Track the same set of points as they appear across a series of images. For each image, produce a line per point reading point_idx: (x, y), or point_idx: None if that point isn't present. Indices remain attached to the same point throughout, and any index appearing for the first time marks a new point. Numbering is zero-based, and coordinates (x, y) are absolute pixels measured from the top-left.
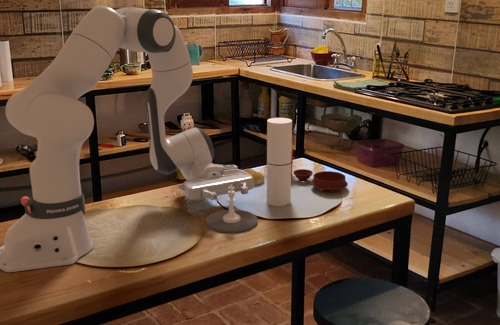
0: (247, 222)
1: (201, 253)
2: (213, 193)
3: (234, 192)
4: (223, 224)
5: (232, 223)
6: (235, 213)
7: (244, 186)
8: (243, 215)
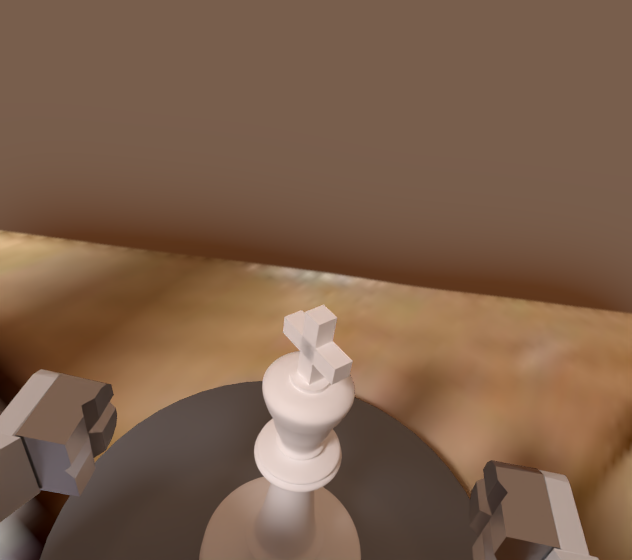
0: (226, 433)
1: (613, 357)
2: (537, 487)
3: (288, 354)
4: (393, 515)
5: (324, 486)
6: (254, 510)
7: (19, 420)
8: (141, 557)
